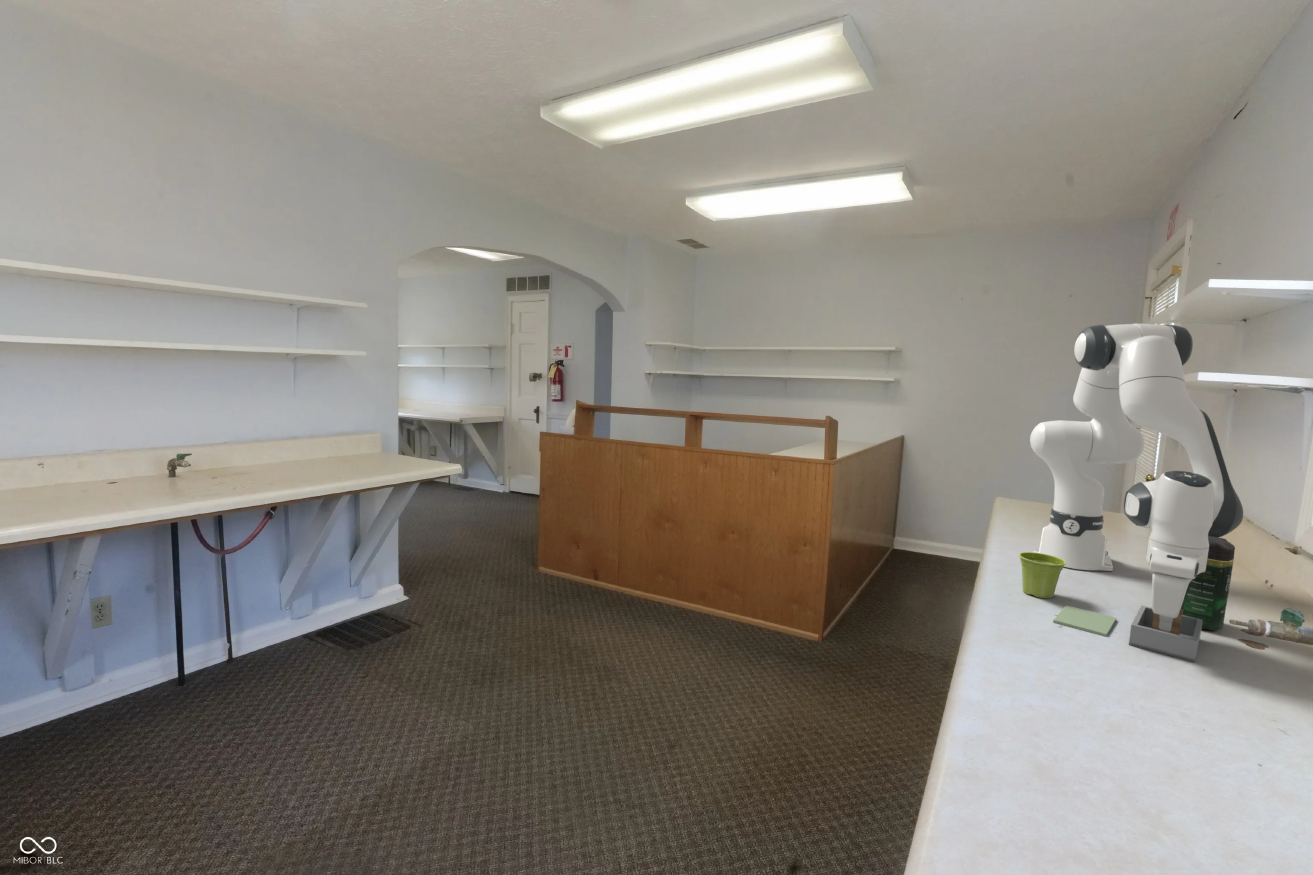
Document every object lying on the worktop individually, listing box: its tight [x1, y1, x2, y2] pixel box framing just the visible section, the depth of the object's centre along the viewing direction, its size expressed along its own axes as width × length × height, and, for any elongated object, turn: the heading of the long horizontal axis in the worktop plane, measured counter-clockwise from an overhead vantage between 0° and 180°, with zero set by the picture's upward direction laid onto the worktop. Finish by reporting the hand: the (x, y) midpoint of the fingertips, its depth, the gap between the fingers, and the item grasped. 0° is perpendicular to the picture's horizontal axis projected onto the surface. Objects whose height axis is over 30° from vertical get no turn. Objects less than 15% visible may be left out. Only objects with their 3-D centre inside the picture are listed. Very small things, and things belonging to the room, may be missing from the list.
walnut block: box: [1152, 609, 1183, 635], centre depth 120 cm, size 4×4×5 cm
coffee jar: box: [1181, 536, 1236, 631], centre depth 129 cm, size 10×8×19 cm
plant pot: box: [1018, 551, 1066, 599], centre depth 144 cm, size 9×9×9 cm
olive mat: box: [1052, 605, 1117, 637], centre depth 129 cm, size 12×9×1 cm
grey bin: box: [1128, 605, 1203, 663], centre depth 120 cm, size 15×10×4 cm, turn 136°
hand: (1166, 625), depth 120 cm, fingers closed on walnut block, 4 cm apart
